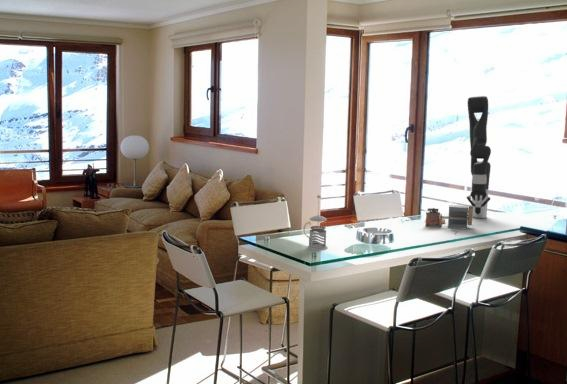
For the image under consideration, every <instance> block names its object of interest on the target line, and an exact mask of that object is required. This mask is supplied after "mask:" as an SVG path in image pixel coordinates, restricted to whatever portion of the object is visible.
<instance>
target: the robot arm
mask: <svg viewBox="0 0 567 384" xmlns="http://www.w3.org/2000/svg"><path fill="white" fill-rule="evenodd" d="M467 112H468V123H469V143H470V152H469V154H470V155H469V156H470V173H471V176H472V177H471V192H470V194H469V195H468V196H466V199H467V201H468V202H469V203H470V205H471V206H473V216H472V218H476V219H486V218H487V216H488V215H487V214H488V203H489V202H490V201H491V197H490V196H489V189H490V188H489V187H490V177H491V167H492V166H491V163H490V162H489V159H490V157H491V153H492V149H491V147H490V146H489V145H487V142H488V138H487V137H488V136H487V135H488V134H487V132H488V131H487V127H488V120H489V119H488V116H489V99H488V97H487V95H478V96H469V97H468V98H467ZM476 114H481V116H480V118H479V119H477V117H476ZM478 159H479V160H478ZM480 160H481V161H480Z"/></svg>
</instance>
